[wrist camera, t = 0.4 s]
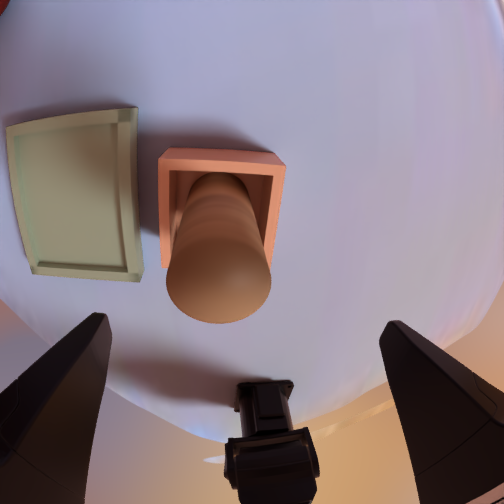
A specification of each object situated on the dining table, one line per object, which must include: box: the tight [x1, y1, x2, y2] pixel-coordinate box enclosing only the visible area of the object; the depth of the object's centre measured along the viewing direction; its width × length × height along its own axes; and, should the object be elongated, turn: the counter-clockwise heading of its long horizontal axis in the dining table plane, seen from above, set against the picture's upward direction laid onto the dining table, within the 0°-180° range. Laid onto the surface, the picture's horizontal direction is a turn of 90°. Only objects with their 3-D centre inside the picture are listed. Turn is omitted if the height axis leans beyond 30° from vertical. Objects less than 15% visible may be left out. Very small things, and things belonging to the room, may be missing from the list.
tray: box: [6, 107, 144, 282], centre depth 17 cm, size 12×10×2 cm
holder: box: [158, 147, 286, 270], centre depth 17 cm, size 7×7×4 cm
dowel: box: [166, 172, 271, 324], centre depth 15 cm, size 4×4×9 cm
